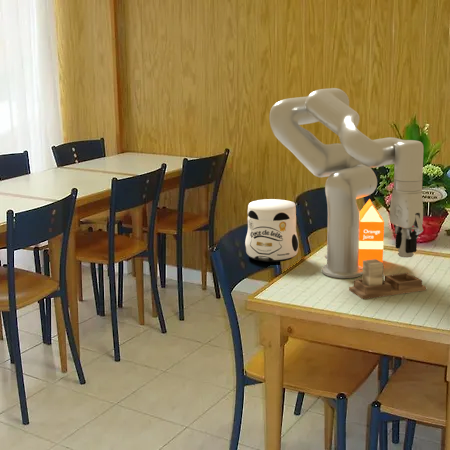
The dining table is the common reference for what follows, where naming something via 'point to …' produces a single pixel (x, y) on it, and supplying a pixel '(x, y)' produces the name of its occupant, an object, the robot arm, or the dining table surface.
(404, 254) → the rook chess piece
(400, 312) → the dining table surface
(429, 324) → the dining table surface
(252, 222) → the milk container
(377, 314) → the dining table surface
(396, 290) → the wooden compartment tray
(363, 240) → the orange juice
